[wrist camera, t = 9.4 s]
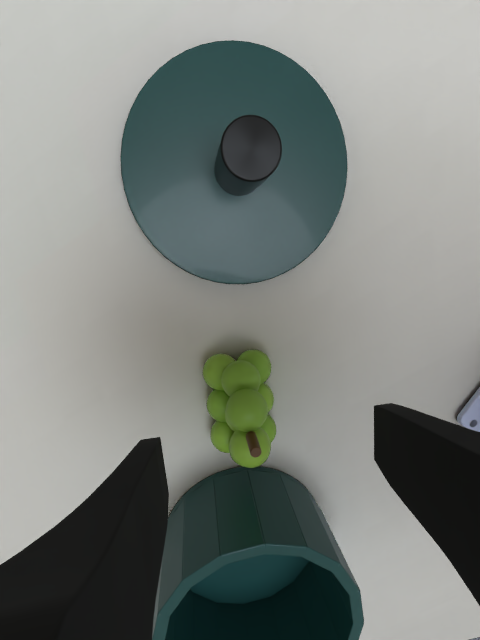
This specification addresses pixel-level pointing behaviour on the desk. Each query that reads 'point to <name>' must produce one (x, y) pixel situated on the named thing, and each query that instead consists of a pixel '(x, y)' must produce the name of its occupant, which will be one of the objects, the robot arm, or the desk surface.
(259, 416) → the grapes
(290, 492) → the pot
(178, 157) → the pot lid
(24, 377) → the desk surface
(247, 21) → the desk surface
